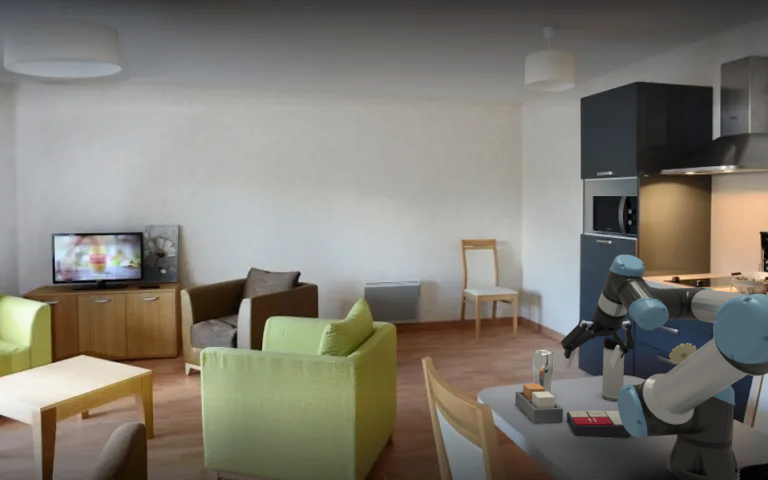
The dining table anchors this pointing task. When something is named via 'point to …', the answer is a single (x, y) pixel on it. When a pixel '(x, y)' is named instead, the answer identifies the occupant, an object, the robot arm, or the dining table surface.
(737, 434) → the dining table surface
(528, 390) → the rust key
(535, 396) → the cream key
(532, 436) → the dining table surface
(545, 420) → the key housing
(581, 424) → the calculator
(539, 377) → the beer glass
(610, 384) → the travel mug
